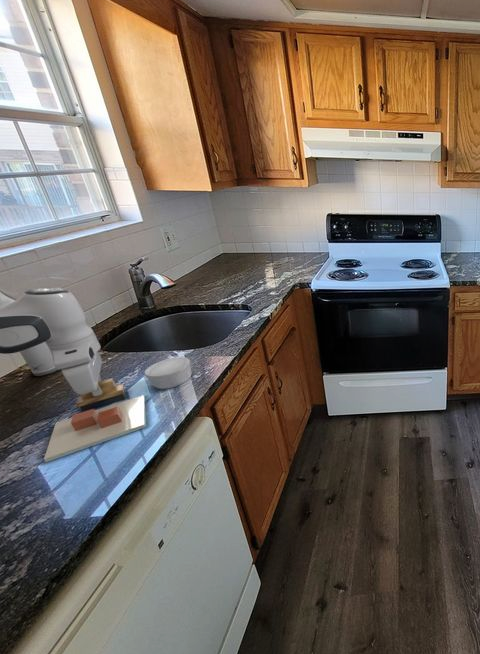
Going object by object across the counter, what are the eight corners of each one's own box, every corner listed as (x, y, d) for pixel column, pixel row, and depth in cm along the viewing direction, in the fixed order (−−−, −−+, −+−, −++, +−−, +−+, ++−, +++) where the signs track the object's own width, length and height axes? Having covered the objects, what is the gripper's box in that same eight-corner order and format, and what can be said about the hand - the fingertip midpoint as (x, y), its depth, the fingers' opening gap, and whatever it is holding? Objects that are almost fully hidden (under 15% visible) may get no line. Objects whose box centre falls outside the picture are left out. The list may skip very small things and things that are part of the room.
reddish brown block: (75, 431, 89) (70, 423, 88) (77, 422, 92) (72, 415, 91) (96, 424, 91) (92, 416, 90) (98, 416, 94) (94, 408, 93)
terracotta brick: (101, 428, 90) (96, 420, 89) (102, 420, 93) (98, 412, 92) (122, 421, 92) (117, 413, 91) (122, 413, 95) (118, 406, 94)
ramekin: (159, 374, 114) (152, 360, 111) (199, 368, 117) (194, 353, 114) (144, 395, 104) (136, 379, 102) (188, 387, 107) (182, 371, 105)
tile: (45, 462, 81) (43, 459, 81) (57, 425, 93) (55, 422, 92) (145, 427, 91) (144, 424, 91) (145, 397, 103) (143, 394, 102)
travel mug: (41, 377, 114) (6, 320, 106) (29, 374, 116) (-6, 317, 108) (65, 367, 119) (34, 312, 111) (54, 364, 122) (23, 309, 113)
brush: (80, 412, 97) (70, 394, 95) (82, 405, 100) (72, 387, 98) (126, 398, 103) (117, 380, 100) (127, 392, 105) (118, 374, 103)
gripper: (65, 337, 100) (87, 379, 106) (52, 367, 85) (79, 414, 91) (95, 330, 103) (115, 371, 109) (88, 358, 89) (112, 404, 94)
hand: (99, 391), depth 100 cm, fingers closed on brush, 2 cm apart
